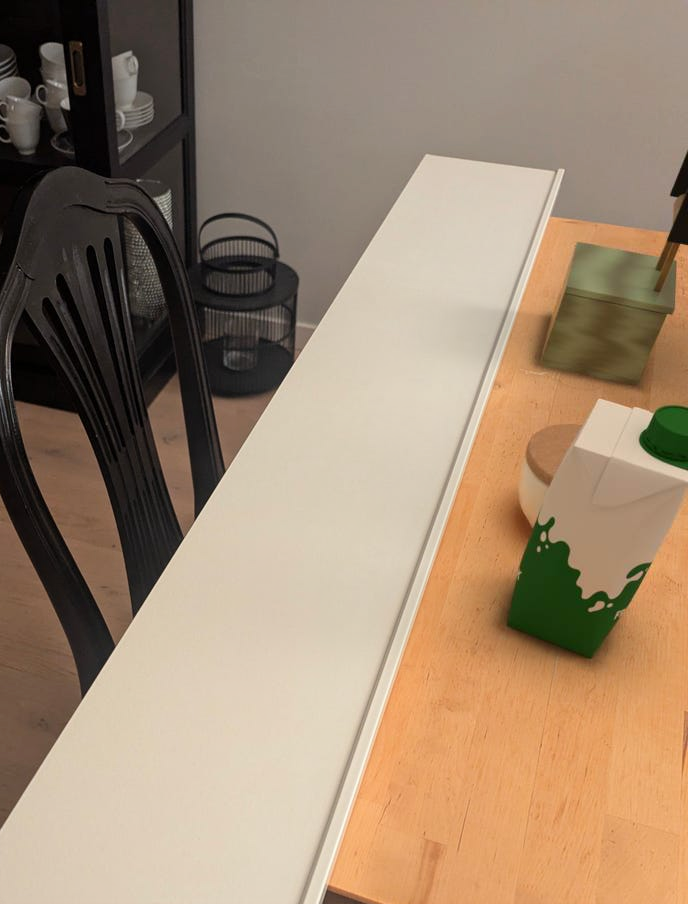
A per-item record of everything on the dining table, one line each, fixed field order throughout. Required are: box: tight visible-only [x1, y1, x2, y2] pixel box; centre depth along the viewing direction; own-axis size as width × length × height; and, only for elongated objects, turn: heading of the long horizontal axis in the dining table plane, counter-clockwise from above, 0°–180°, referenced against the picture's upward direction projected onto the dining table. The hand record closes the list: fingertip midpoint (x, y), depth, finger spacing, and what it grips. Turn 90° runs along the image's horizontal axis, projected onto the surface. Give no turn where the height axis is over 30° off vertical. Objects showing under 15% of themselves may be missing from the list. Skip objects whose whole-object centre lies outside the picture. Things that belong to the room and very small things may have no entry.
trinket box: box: [517, 423, 583, 530], centre depth 83 cm, size 11×11×9 cm
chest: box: [539, 248, 668, 387], centre depth 107 cm, size 11×13×9 cm
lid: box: [564, 194, 685, 316], centre depth 101 cm, size 12×13×9 cm
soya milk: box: [506, 398, 688, 659], centre depth 70 cm, size 9×9×20 cm
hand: (681, 219), depth 98 cm, fingers open, 13 cm apart
